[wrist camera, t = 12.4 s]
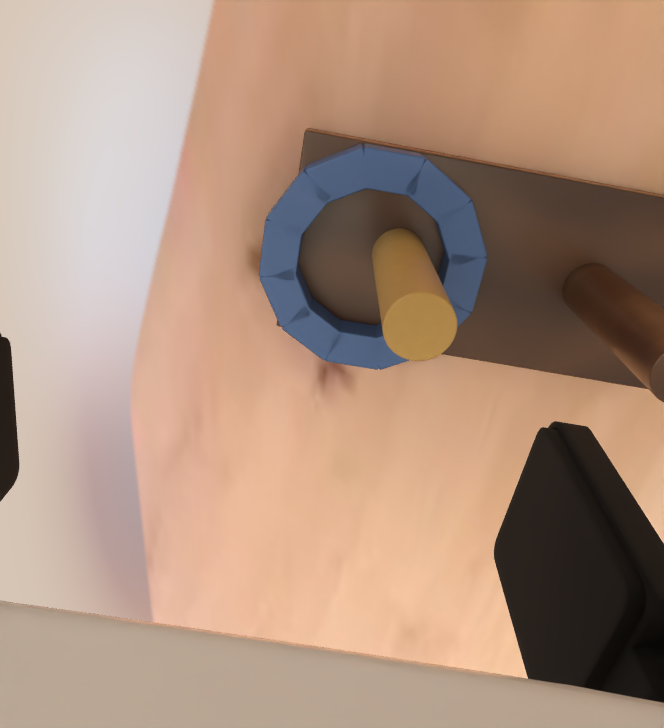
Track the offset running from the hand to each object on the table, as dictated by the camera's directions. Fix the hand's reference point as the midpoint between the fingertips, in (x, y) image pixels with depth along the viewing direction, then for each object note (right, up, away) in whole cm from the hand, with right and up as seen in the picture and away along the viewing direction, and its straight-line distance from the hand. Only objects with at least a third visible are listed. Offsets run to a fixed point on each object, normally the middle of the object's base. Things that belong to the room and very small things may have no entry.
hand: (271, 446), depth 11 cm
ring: (+3, +6, +17) cm, 18 cm away
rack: (+9, +6, +18) cm, 21 cm away
